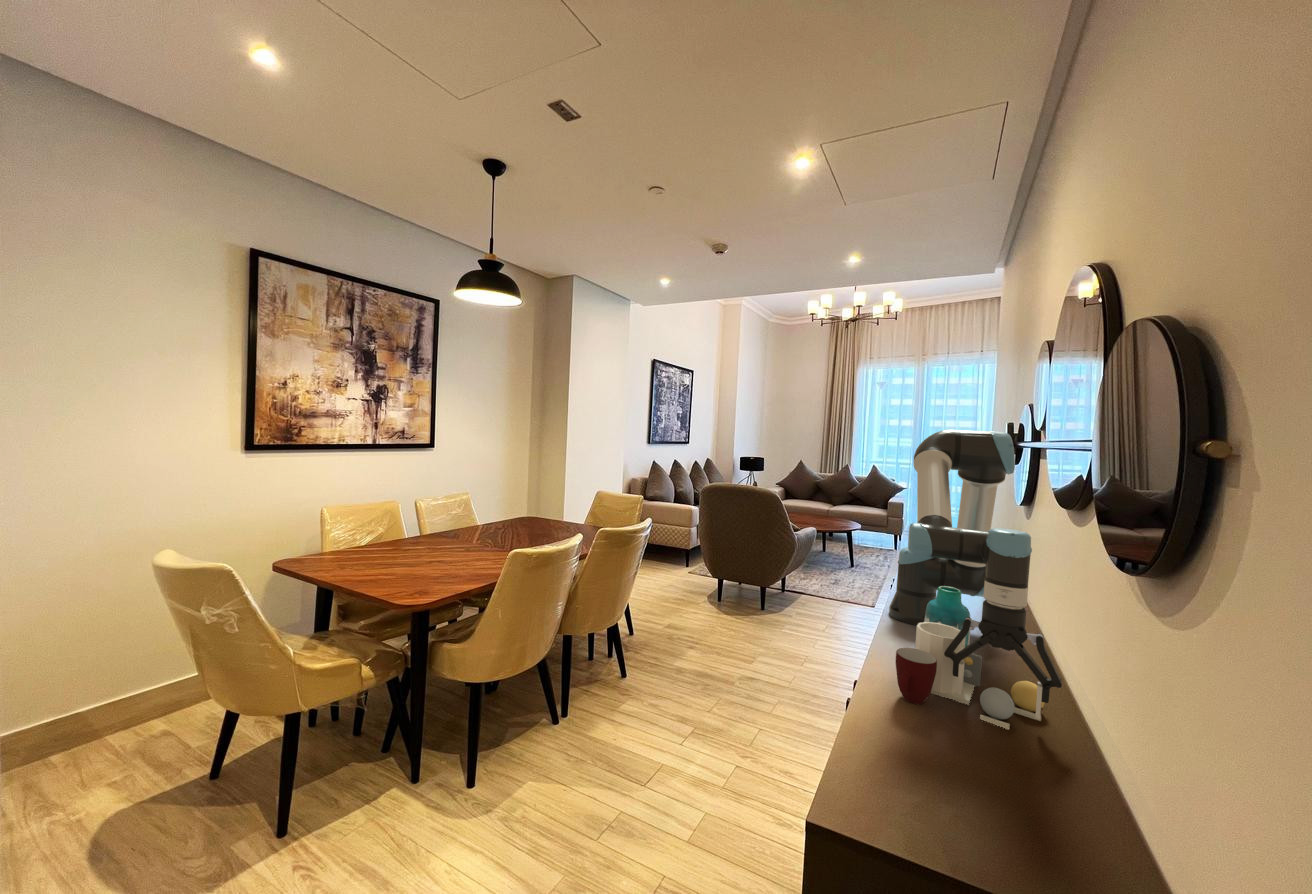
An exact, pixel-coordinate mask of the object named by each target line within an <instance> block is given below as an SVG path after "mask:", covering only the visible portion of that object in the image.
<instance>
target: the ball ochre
mask: <svg viewBox="0 0 1312 894" xmlns="http://www.w3.org/2000/svg"><path fill="white" fill-rule="evenodd" d="M1037 687H1038V684H1036V683H1034V682H1031V681H1028V680H1019V681H1016V682H1015V683H1014V684H1013V685H1012V687H1011V689H1010V695H1011V698H1012V700H1013V702H1014V704H1015V705H1017V706H1018V708H1020V709H1022V710H1025V711H1029V712H1036V700H1037ZM1045 704H1046V703H1044V702H1041V709H1042V708H1043V707H1044V706H1045Z"/></svg>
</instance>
